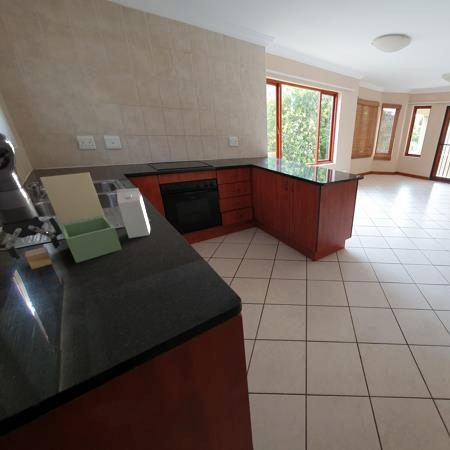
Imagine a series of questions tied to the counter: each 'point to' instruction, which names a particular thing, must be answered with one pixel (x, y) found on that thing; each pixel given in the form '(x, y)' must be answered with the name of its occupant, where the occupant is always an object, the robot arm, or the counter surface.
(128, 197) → the milk carton
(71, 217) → the bin lid
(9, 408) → the counter surface
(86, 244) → the bin
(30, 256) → the block
